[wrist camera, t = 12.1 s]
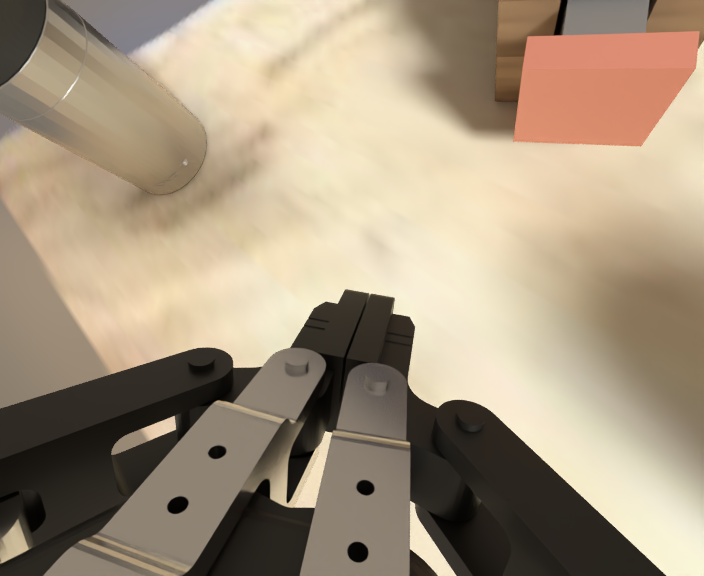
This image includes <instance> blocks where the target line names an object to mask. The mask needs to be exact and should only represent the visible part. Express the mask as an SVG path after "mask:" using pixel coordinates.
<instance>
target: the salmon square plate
mask: <svg viewBox="0 0 704 576" xmlns="http://www.w3.org/2000/svg"><path fill="white" fill-rule="evenodd" d="M648 8H649V0H564V4H563V11H562V17H561V24H560V31H559V35H558V36H528V37H527V43H526V50H525V56H524V62H523V69H522V76H521V84H520V92H519V100H518V108H517V116H516V124H515V132H514V140H513V141H518V142H543V143H569V144H594V145H620V146H642V144H643V143H644V141H645V140H646V138H647V137H648V136H649V134H650V133H651V131H652V130H653V128H654V127H655V126H656V124H657V123H658V121H659V120H660V118H661V117H662V116H663V114H664V113H665V111H666V110H667V108H668V107H669V106H670V104H671V103H672V101H673V100H674V98H675V97H676V96H677V94H678V93H679V91H680V90H681V88H682V87H683V86H684V84H685V83H686V81H687V80H688V79H689V77H690V76H691V74H692V73H693V71H694V70H695V69H696V61H697V52H698V42H699V32H700V31H689V32H656V33H646V25H647V17H648Z"/></svg>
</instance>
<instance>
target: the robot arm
mask: <svg viewBox="0 0 704 576" xmlns="http://www.w3.org/2000/svg"><path fill="white" fill-rule="evenodd" d="M0 114H1V115H3V116H5V117H7V118H9V119H11V120H13V121H15V122H16V123H18V124H20V125H22V126H24V127H26V128H28V129H30V130H31V131H33V132H35V133H37V134H39V135H41V136H43V137H45V138H47V139H49V140H50V141H52V142H54V143H56V144H58V145H60V146H62V147H64V148H66V149H67V150H69V151H71V152H73V153H75V154H77V155H79V156H81V157H83V158H84V159H86V160H88V161H90V162H92V163H94V164H96V165H98V166H100V167H102V168H103V169H105V170H107V171H109V172H111V173H113V174H115V175H116V176H118V177H120V178H122V179H124V180H126V181H128V182H130V183H132V184H133V185H135V186H137V187H139V188H141V189H143V190H145V191H147V192H149V193H152V194H162V195H163V194H168V193H172V192H174V191H176V190H179V189H180V188H182V187H183V186H185V185H186V184H187V183H188V182H189V181H190V180H191V179H192V178H193V177H194V176H195V174H196V173H197V172H198V170H199V168H200V166H201V164H202V162H203V160H204V156H205V153H206V144H207V142H206V134H205V131H204V128H203V126H202V124H201V123H200V121H199V120H198V119H197V118H196V117H195V116H193V115H192V114H191V113H190V112H189V111H188V110H187V109H186V108H184V107H183V106H182V105H181V104H180V103H179V102H178V101H177V100H175V99H174V98H173V97H172V96H171V95H170V94H169V93H168V92H167V91H165V90H164V89H163V88H162V87H161V86H160V85H159V84H157V83H156V82H155V81H154V80H153V79H152V78H151V77H149V76H148V75H147V74H146V73H145V72H144V71H143V70H141V69H140V68H139V67H138V66H137V65H136V64H135V63H133V62H132V61H131V60H130V59H129V58H128V57H127V56H125V55H124V54H123V53H122V52H121V51H120V50H119V49H117V48H116V47H115V46H114V45H113V44H112V43H110V42H109V41H108V40H107V39H106V38H105V37H104V36H103V35H101V34H100V33H99V32H98V31H97V30H96V29H94V28H93V27H92V26H91V25H90V24H89V23H88V22H86V21H85V20H84V19H83V18H82V17H81V16H80V15H79V14H77V13H76V12H75V11H74V10H73V9H71V8H70V7H69V6H68V5H67V4H66V3H65V2H63V1H62V0H0ZM394 301H395V298H393V297H387V296H381V295H376V294H371V295H370V297H369V293H364V292H358V291H353V290H347V289H346V290H345V291H344V293H343V295H342V297H341V299H340V301H339V303H338V304H335V303H330V302H324V303H323V304H321V305H319V306H317V307H316V308H314V310H313V311H312V313H311V315H310V316H309V319H308V320H307V321H306V323H305V324H304V327H303V328H302V329H301V331H300V333H299V334H298V336H297V338H296V339H295V341H294V343H293V344H292V346H291V347H290V348H288V349H284V350H281V351H278V352H276V353H275V354H273V355H272V356H271V357H270V358H269V359H268V361H267V362H266V363H265V364H264V366H263V367H256V368H233V360H232V357H231V356H230V355H229V354H228V353H226V352H225V351H222V350H220V349H216V348H197V349H192V350H188V351H185V352H182V353H179V354H175V355H172V356H169V357H166V358H163V359H159V360H156V361H153V362H150V363H146V364H143V365H140V366H137V367H134V368H130V369H127V370H124V371H121V372H117V373H114V374H111V375H108V376H104V377H101V378H98V379H95V380H92V381H88V382H85V383H82V384H79V385H75V386H72V387H69V388H66V389H63V390H59V391H56V392H53V393H50V394H46V395H43V396H40V397H37V398H33V399H30V400H27V401H24V402H21V403H17V404H14V405H11V406H8V407H4V408H1V409H0V576H437V574H436V573H435V572H434V571H433V570H432V569H431V567H430V566H429V565H428V564H427V563H426V562H425V561H424V560H423V559H421V558H420V557H419V556H418V555H417V554H416V553H414V552H413V551H412V550H410V501H412V502H413V503H415V509H416V513H417V516H418V518H419V520H420V522H421V523H422V525H423V526H424V528H425V529H426V531H427V532H428V534H429V535H430V537H431V538H432V540H433V541H434V543H435V544H436V546H437V547H438V549H439V550H440V552H441V553H442V555H443V556H444V558H445V559H446V561H447V562H448V564H449V565H450V567H451V568H452V570H453V571H454V573H455V574H456V575H457V576H666V575H665V574H664V573H663V572H662V571H661V570H660V569H658V568H657V567H656V566H655V565H654V564H653V563H652V562H651V561H650V560H649V559H648V558H647V557H646V556H645V555H644V554H643V553H641V552H640V551H639V550H638V549H637V548H636V547H635V546H634V545H633V544H632V543H631V542H630V541H629V540H628V539H627V538H625V537H624V536H623V535H622V534H621V533H620V532H619V531H618V530H617V529H616V528H615V527H614V526H613V525H612V524H611V523H609V522H608V521H607V520H606V519H605V518H604V517H603V516H602V515H601V514H600V513H599V512H598V511H597V510H596V509H595V508H593V507H592V506H591V505H590V504H589V503H588V502H587V501H586V500H585V499H584V498H583V497H582V496H581V495H580V494H579V493H578V492H576V491H575V490H574V489H573V488H572V487H571V486H570V485H569V484H568V483H567V482H566V481H565V480H564V479H563V478H562V477H560V476H559V475H558V474H557V473H556V472H555V471H554V470H553V469H552V468H551V467H550V466H549V465H548V464H547V463H546V462H544V461H543V460H542V459H541V458H540V457H539V456H538V455H537V454H536V453H535V452H534V451H533V450H532V449H531V448H530V447H529V446H527V445H526V444H525V443H524V442H523V441H522V440H521V439H520V438H519V437H518V436H517V435H516V434H515V433H514V432H513V431H511V430H510V429H509V428H508V427H507V426H506V425H505V424H504V423H503V422H502V421H501V420H500V419H499V418H498V417H497V416H495V415H494V414H493V413H492V412H491V411H490V410H488V409H487V408H485V407H483V406H481V405H479V404H477V403H474V402H470V401H465V400H452V401H448V402H445V403H443V404H442V405H441V406H440V407H439V408H436V407H434V406H432V405H430V404H428V403H426V402H424V401H422V400H421V399H419V398H418V397H417V396H416V395H415V394H414V393H413V392H412V390H411V389H410V387H409V385H408V372H409V365H410V358H411V351H412V344H413V338H414V331H415V326H414V324H413V322H412V321H411V319H410V317H407V316H402V315H396V314H393V308H394ZM172 416H175V421H176V430H174V431H172V432H169V433H167V434H165V435H162V436H160V437H157V438H155V439H153V440H150V441H148V442H146V443H143V444H141V445H138V446H136V447H133V448H131V449H129V450H126V451H124V452H121V453H119V454H116V455H111V451H112V448H113V446H114V444H115V443H116V442H117V441H118V440H119V439H120V438H122V437H123V436H125V435H127V434H129V433H132V432H134V431H137V430H139V429H142V428H144V427H147V426H149V425H152V424H154V423H157V422H160V421H162V420H165V419H167V418H170V417H172ZM325 431H327V432H332V437H331V441H330V446H329V450H328V454H327V459H326V463H325V467H324V472H323V476H322V480H321V485H320V489H319V493H318V498H317V502H316V507H315V508H294V506H295V504H296V502H297V500H298V498H299V496H300V494H301V491H302V489H303V487H304V485H305V483H306V481H307V478H308V476H309V474H310V472H311V470H312V468H313V465H314V463H315V461H316V459H317V457H318V453H319V444H320V443H321V441H322V438H323V436H324V433H325Z"/></svg>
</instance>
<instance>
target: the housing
mask: <svg viewBox="0 0 704 576" xmlns="http://www.w3.org/2000/svg"><path fill="white" fill-rule="evenodd" d="M563 4H564V0H499V2H498V28H497V54H496V80H495V101H512V102H518V100H519V92H520V84H521V76H522V69H523V62H524V56H525V50H526V43H527V37H528V36H558V35H559V31H560V24H561V17H562V11H563ZM689 31H700V32H699V42H698V48H699V47H700V45H701V44H702V42H703V41H704V0H649V8H648V17H647V25H646V33H656V32H689Z"/></svg>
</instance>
